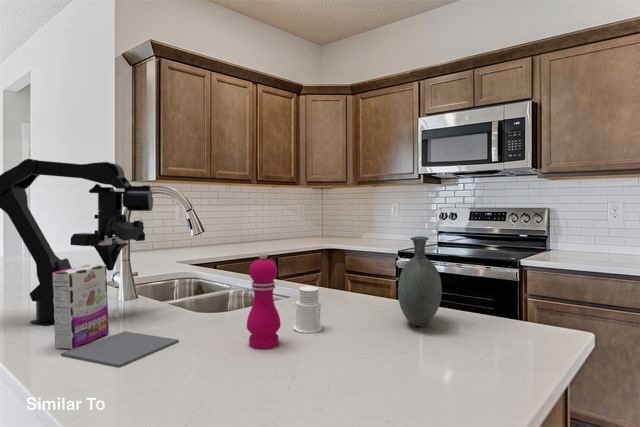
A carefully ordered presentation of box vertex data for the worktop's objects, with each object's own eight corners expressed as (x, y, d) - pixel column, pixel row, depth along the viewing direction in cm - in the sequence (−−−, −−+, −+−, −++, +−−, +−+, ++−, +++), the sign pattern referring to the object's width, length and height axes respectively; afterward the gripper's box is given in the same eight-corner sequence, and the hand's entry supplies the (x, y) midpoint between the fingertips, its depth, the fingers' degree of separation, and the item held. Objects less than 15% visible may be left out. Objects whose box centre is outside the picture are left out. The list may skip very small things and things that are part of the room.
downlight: (286, 327, 107) (287, 287, 106) (307, 322, 112) (308, 283, 111) (307, 336, 101) (308, 294, 100) (329, 330, 106) (330, 289, 105)
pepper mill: (285, 340, 97) (285, 250, 97) (271, 351, 90) (271, 254, 90) (256, 337, 100) (255, 249, 99) (240, 347, 93) (239, 253, 92)
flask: (384, 329, 105) (384, 238, 104) (408, 313, 120) (409, 233, 119) (432, 337, 99) (432, 240, 98) (451, 319, 114) (452, 234, 113)
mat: (60, 355, 88) (60, 353, 88) (125, 333, 103) (125, 331, 103) (119, 367, 82) (119, 364, 82) (178, 341, 97) (178, 339, 97)
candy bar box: (90, 333, 103) (89, 263, 103) (109, 334, 102) (108, 264, 102) (52, 349, 92) (50, 271, 92) (73, 350, 91) (71, 272, 91)
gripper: (101, 212, 103) (101, 278, 104) (160, 211, 120) (160, 267, 121) (68, 211, 108) (69, 274, 108) (130, 210, 125) (130, 265, 125)
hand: (110, 270), depth 115 cm, fingers closed
